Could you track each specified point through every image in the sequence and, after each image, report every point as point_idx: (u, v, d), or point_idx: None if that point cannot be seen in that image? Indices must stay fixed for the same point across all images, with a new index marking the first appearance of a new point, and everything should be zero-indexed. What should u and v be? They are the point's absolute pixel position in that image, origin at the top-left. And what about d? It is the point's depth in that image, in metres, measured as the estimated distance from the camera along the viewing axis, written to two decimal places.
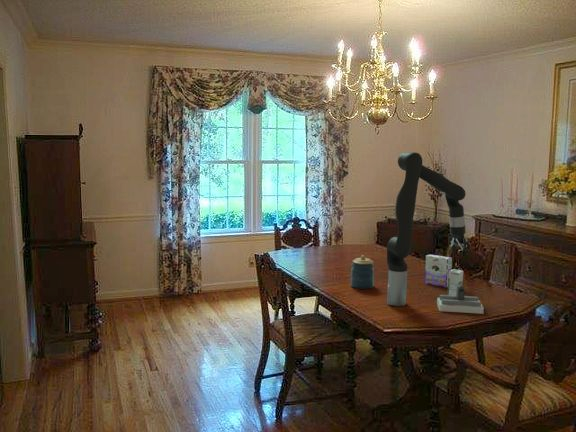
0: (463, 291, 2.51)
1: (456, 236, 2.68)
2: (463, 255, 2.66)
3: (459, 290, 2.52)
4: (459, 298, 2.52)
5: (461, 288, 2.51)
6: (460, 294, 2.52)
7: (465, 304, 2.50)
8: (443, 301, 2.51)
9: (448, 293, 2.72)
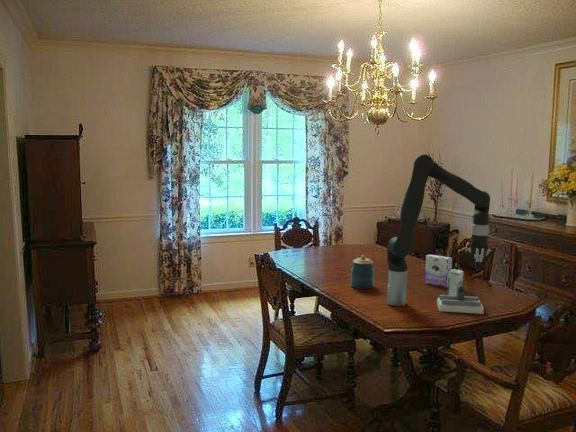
0: (463, 291, 2.51)
1: None
2: None
3: (459, 290, 2.52)
4: (459, 298, 2.52)
5: (461, 288, 2.51)
6: (460, 294, 2.52)
7: (465, 304, 2.50)
8: (443, 301, 2.51)
9: (448, 293, 2.72)
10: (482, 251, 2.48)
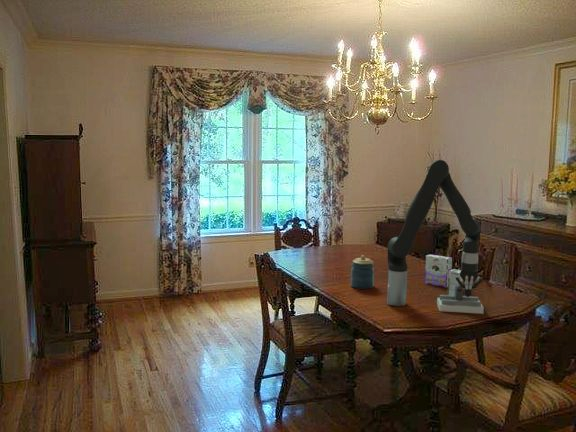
0: (461, 291, 2.51)
1: None
2: None
3: (457, 290, 2.52)
4: (457, 298, 2.52)
5: (459, 288, 2.51)
6: (458, 294, 2.52)
7: (465, 304, 2.50)
8: (443, 301, 2.51)
9: (448, 293, 2.72)
10: (471, 279, 2.51)
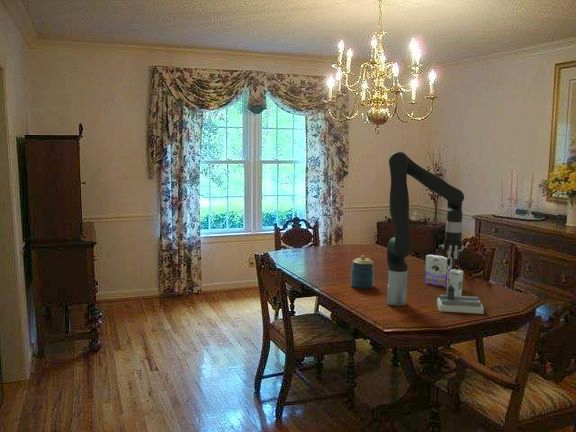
0: (453, 290, 2.52)
1: None
2: None
3: (449, 289, 2.52)
4: (448, 297, 2.53)
5: (451, 287, 2.52)
6: (450, 293, 2.53)
7: (465, 304, 2.50)
8: (443, 301, 2.51)
9: None
10: (456, 248, 2.50)
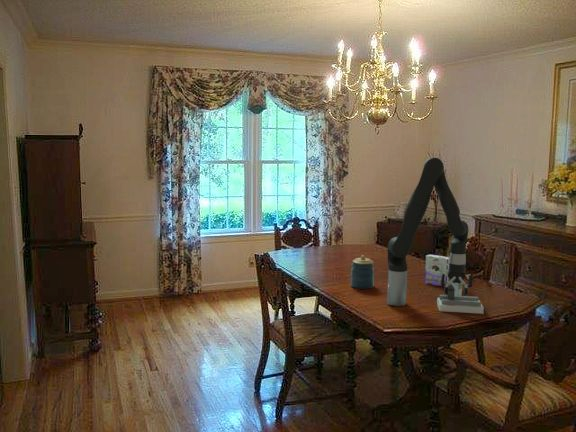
0: (453, 290, 2.52)
1: None
2: None
3: (449, 289, 2.52)
4: (449, 297, 2.53)
5: (451, 287, 2.52)
6: (450, 293, 2.53)
7: (465, 304, 2.50)
8: (443, 301, 2.51)
9: None
10: (461, 279, 2.51)
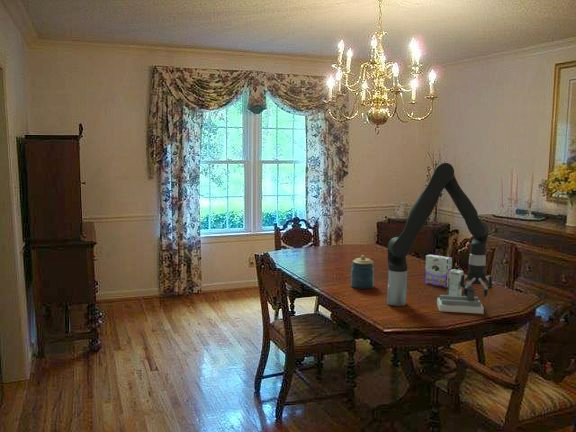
0: (473, 292, 2.51)
1: None
2: None
3: (469, 291, 2.51)
4: (468, 299, 2.51)
5: (471, 289, 2.51)
6: (470, 295, 2.51)
7: (465, 304, 2.50)
8: (443, 301, 2.51)
9: (448, 293, 2.72)
10: (480, 280, 2.50)
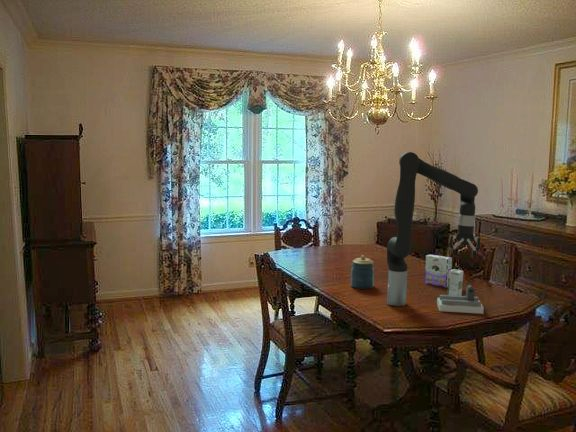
0: (473, 292, 2.51)
1: None
2: None
3: (469, 291, 2.51)
4: (468, 299, 2.51)
5: (471, 289, 2.51)
6: (470, 295, 2.51)
7: (465, 304, 2.50)
8: (443, 301, 2.51)
9: (448, 293, 2.72)
10: (469, 241, 2.51)
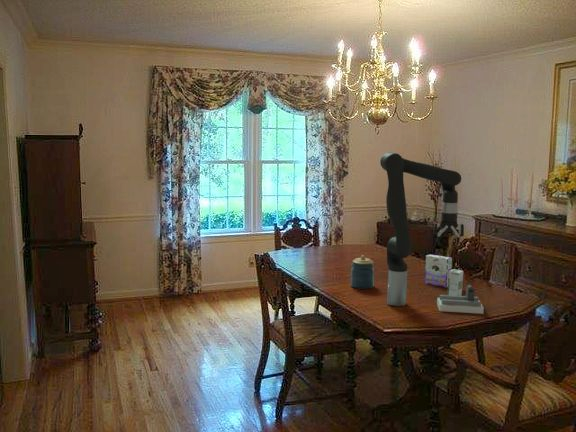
0: (473, 292, 2.51)
1: None
2: None
3: (469, 291, 2.51)
4: (468, 299, 2.51)
5: (471, 289, 2.51)
6: (470, 295, 2.51)
7: (465, 304, 2.50)
8: (443, 301, 2.51)
9: (448, 293, 2.72)
10: (453, 228, 2.57)
